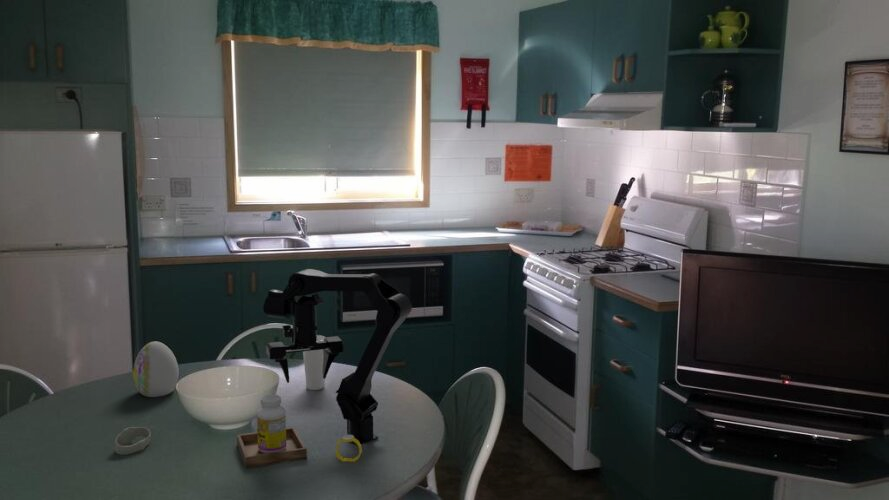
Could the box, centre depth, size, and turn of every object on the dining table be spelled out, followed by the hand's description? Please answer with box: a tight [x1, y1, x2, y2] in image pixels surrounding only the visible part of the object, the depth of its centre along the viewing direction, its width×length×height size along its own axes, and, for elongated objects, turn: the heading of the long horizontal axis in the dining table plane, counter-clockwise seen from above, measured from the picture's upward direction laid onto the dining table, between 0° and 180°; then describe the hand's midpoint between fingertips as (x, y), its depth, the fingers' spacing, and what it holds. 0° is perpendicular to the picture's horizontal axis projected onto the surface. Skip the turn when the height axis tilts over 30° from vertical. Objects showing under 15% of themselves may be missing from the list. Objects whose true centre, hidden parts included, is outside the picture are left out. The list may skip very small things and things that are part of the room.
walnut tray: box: [236, 426, 308, 469], centre depth 196 cm, size 14×14×2 cm
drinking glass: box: [302, 334, 326, 391], centre depth 239 cm, size 7×7×15 cm
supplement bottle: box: [256, 394, 287, 454], centre depth 195 cm, size 7×7×13 cm
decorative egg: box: [132, 341, 180, 398], centre depth 235 cm, size 12×12×15 cm
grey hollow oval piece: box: [114, 425, 151, 455], centre depth 198 cm, size 9×6×5 cm
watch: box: [334, 434, 363, 463], centre depth 191 cm, size 6×3×6 cm, turn 88°
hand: (306, 380), depth 208 cm, fingers open, 9 cm apart
